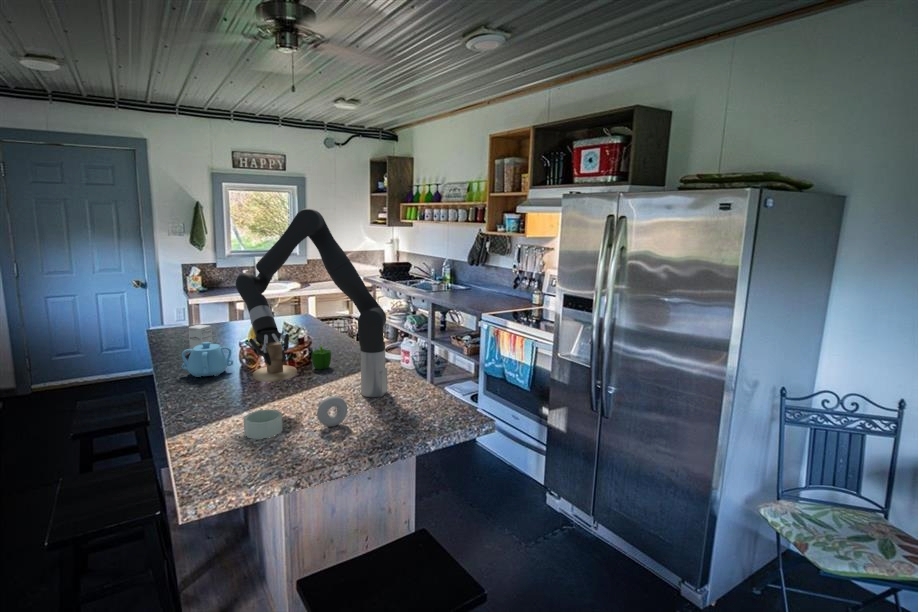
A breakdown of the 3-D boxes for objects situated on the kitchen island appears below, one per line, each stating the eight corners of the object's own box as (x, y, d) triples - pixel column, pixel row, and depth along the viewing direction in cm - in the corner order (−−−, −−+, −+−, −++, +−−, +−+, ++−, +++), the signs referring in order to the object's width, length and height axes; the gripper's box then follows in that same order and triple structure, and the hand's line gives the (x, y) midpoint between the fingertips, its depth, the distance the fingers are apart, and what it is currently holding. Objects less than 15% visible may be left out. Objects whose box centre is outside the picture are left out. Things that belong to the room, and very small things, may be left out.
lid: (287, 366, 182) (285, 336, 180) (303, 375, 171) (302, 344, 169) (247, 373, 173) (245, 342, 171) (261, 384, 162) (259, 351, 160)
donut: (345, 420, 167) (344, 392, 165) (349, 424, 164) (348, 395, 163) (315, 427, 162) (314, 397, 160) (319, 431, 159) (318, 401, 157)
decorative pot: (178, 375, 209) (175, 343, 206) (214, 365, 223) (211, 335, 220) (201, 382, 201) (198, 349, 198) (237, 372, 214) (235, 341, 212)
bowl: (289, 426, 162) (288, 411, 161) (270, 440, 152) (269, 425, 151) (258, 422, 164) (257, 408, 163) (237, 437, 154) (236, 421, 153)
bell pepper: (328, 371, 218) (328, 348, 216) (309, 370, 218) (308, 348, 216) (333, 365, 226) (333, 343, 224) (315, 364, 226) (314, 343, 224)
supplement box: (189, 352, 241) (187, 327, 239) (201, 349, 248) (199, 323, 246) (202, 354, 239) (200, 328, 237) (213, 350, 246) (212, 325, 244)
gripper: (243, 317, 170) (257, 361, 163) (285, 313, 179) (300, 353, 171) (240, 330, 175) (253, 372, 168) (280, 324, 184) (295, 365, 177)
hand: (276, 362), depth 170 cm, fingers closed on lid, 4 cm apart
